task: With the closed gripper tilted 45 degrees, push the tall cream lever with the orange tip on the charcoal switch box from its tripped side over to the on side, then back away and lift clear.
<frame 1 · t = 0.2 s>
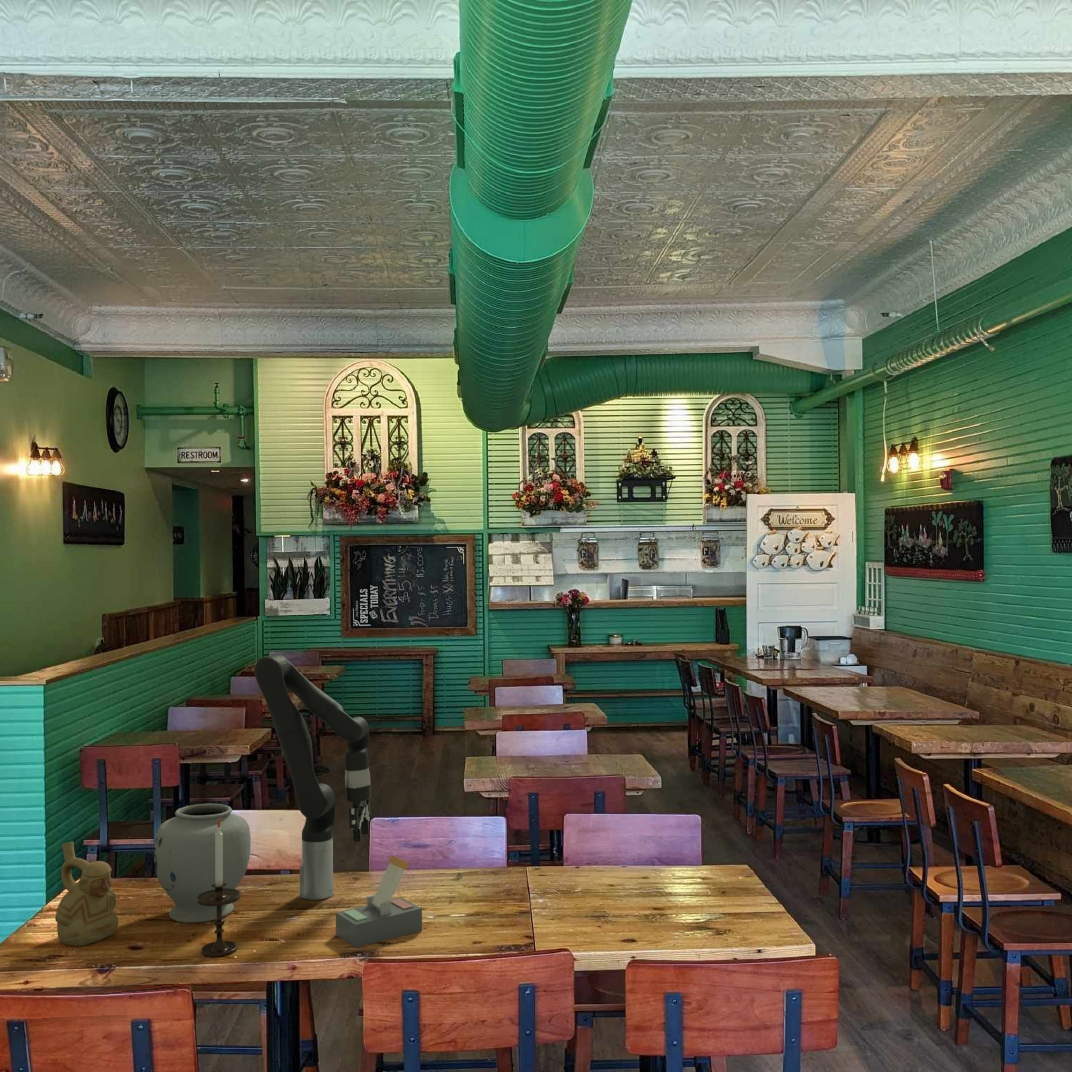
hand: (361, 837, 303), 18 cm above the table, fingers open, 8 cm apart
candlestick: (219, 951, 262), on the table
switch box: (379, 932, 273), on the table
ceramic vessel: (85, 938, 272), on the table
ceramic vase: (203, 913, 291), on the table
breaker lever: (389, 883, 275), point 13 cm above the table, hinge at 30.0°
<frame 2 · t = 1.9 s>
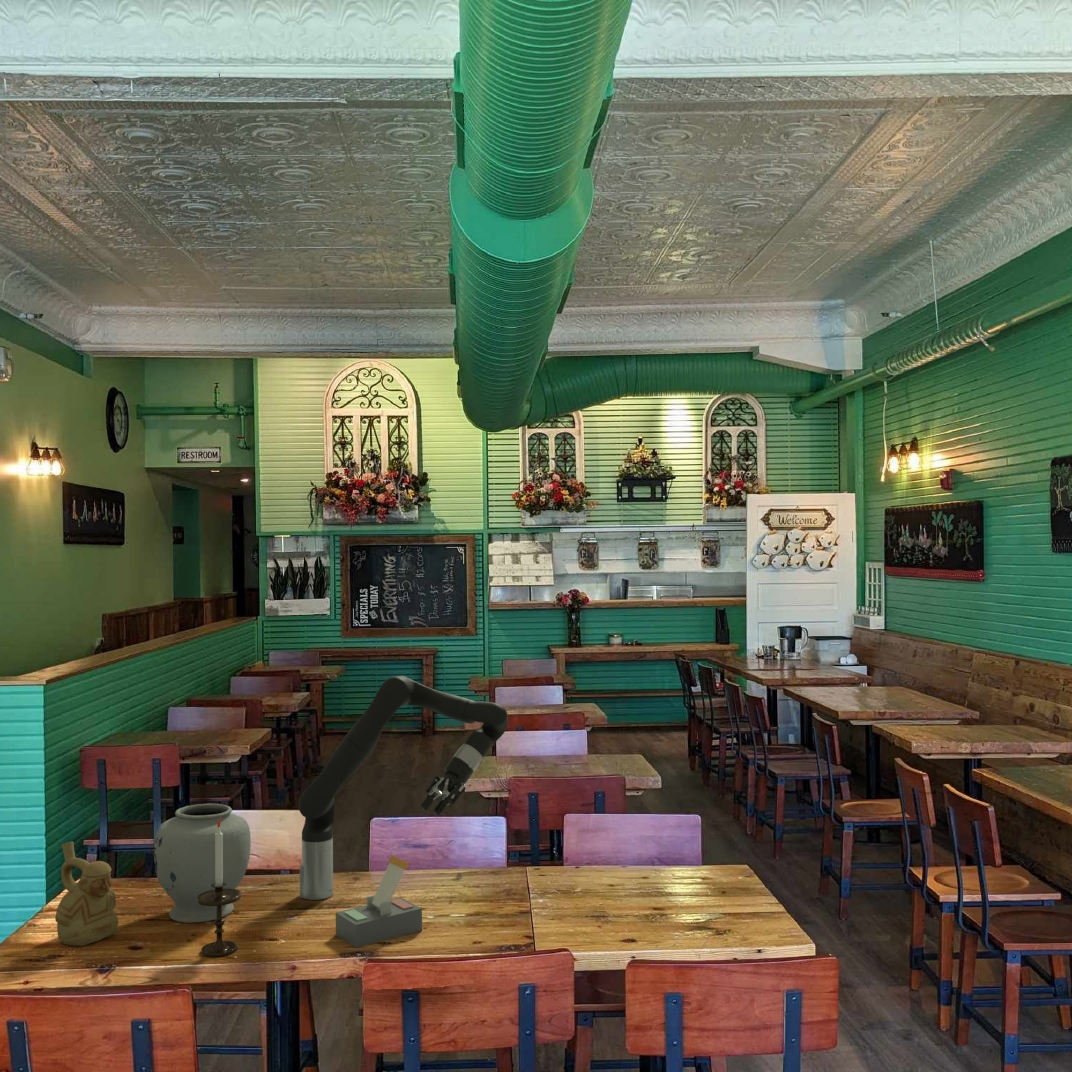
hand: (429, 810, 284), 30 cm above the table, fingers open, 6 cm apart
nothing on the table moved.
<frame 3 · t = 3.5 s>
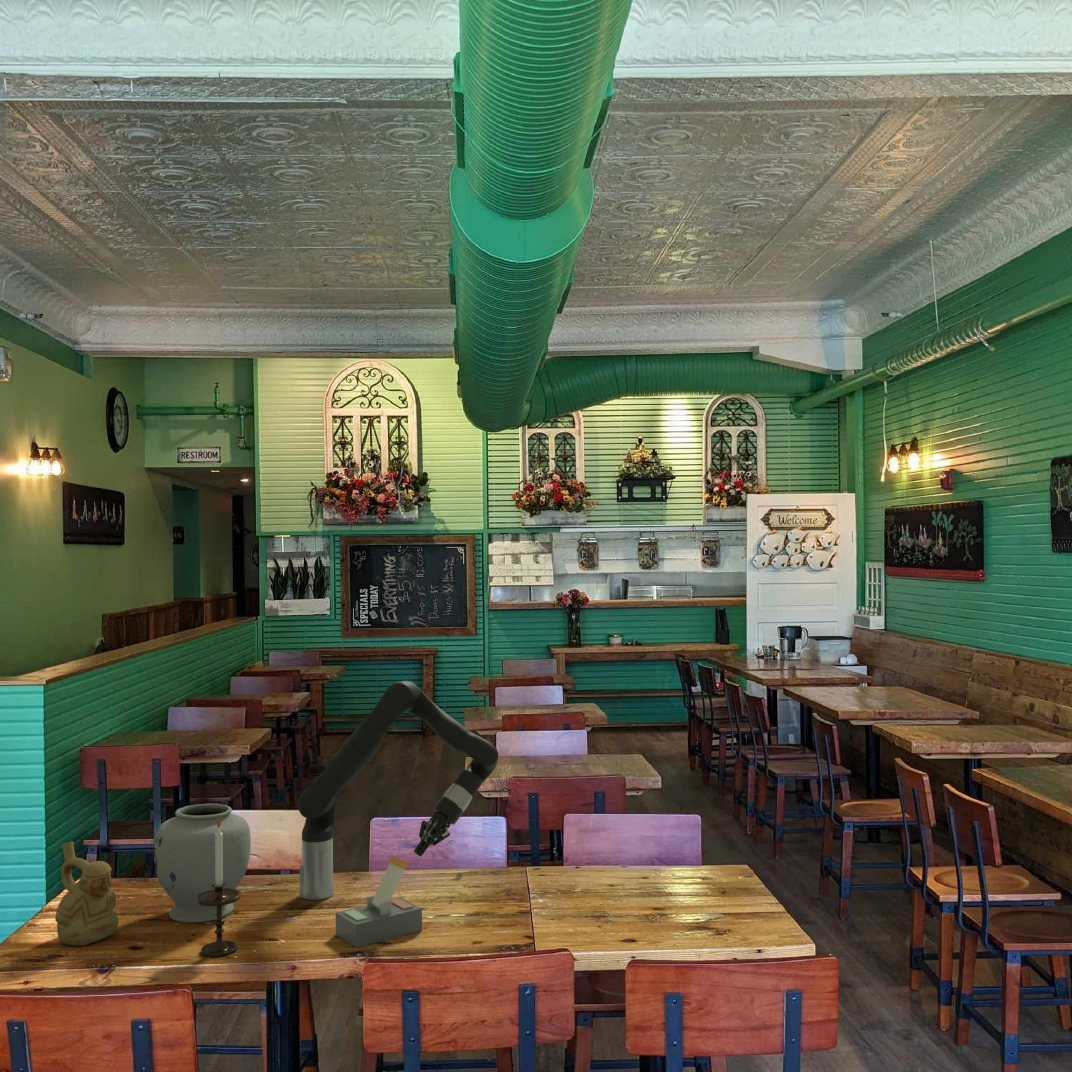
hand: (417, 854, 281), 19 cm above the table, fingers closed
nothing on the table moved.
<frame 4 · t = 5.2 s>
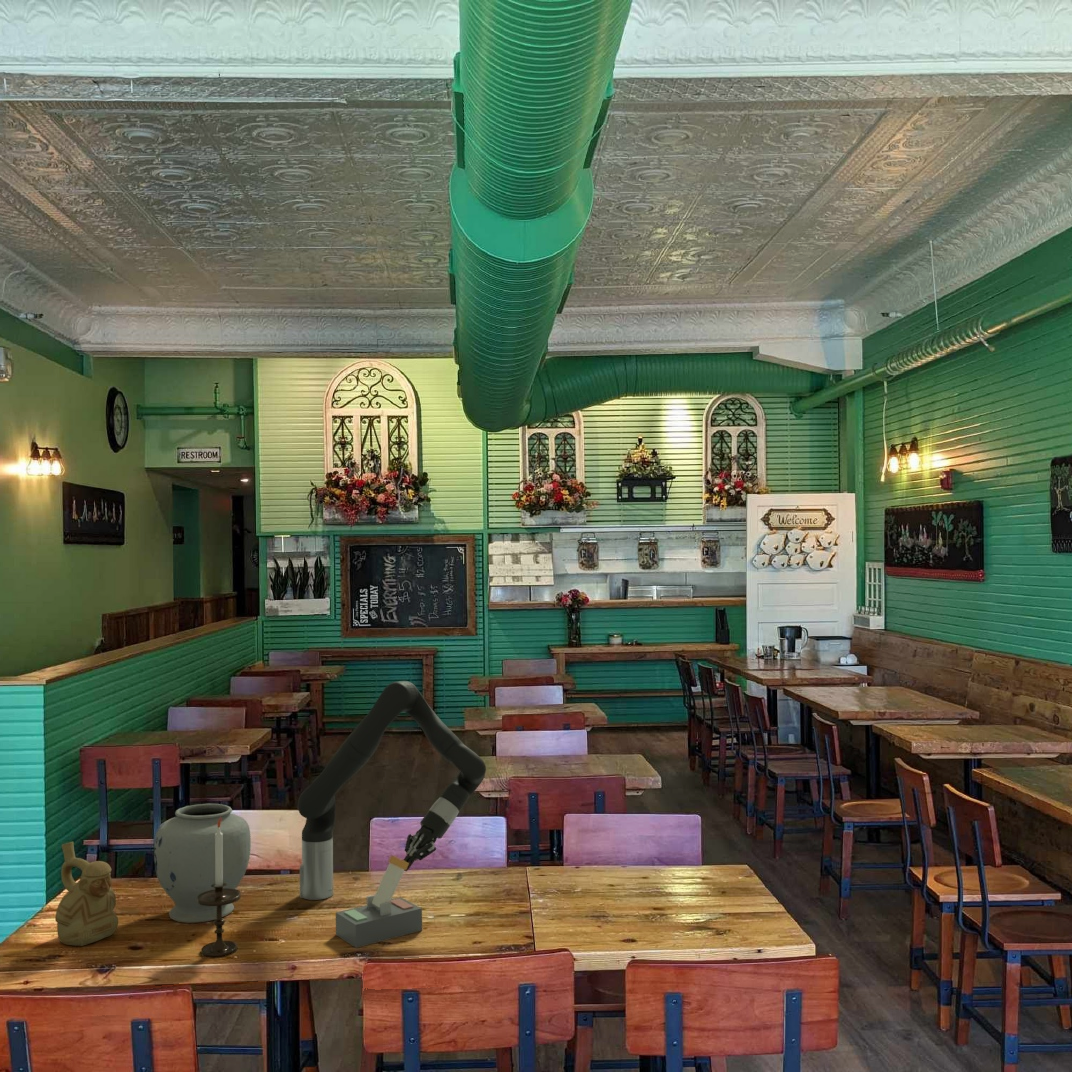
hand: (402, 869, 278), 16 cm above the table, fingers closed
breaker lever: (389, 883, 275), point 13 cm above the table, hinge at 30.0°, touching gripper
everything else where it was.
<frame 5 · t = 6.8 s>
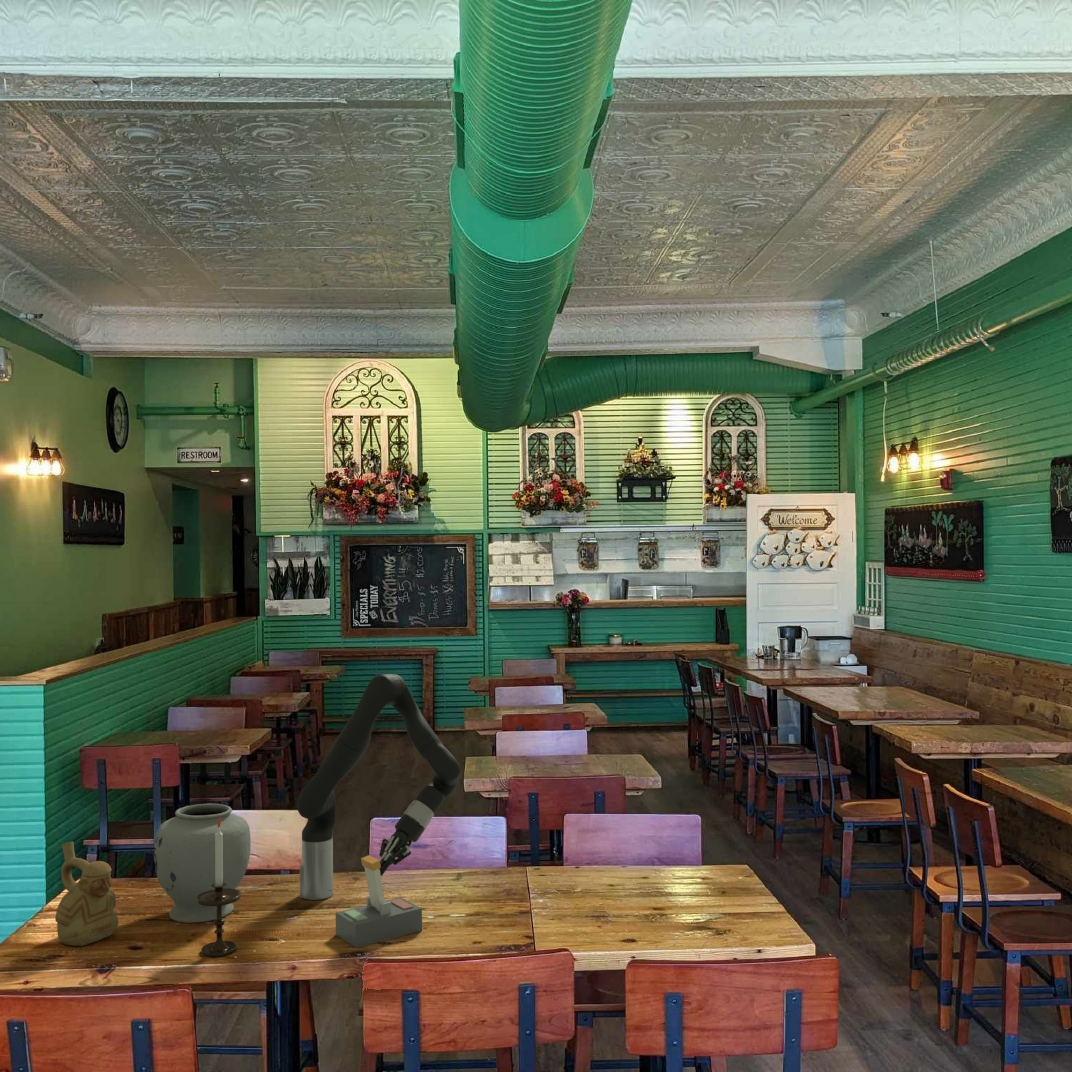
hand: (377, 874, 273), 16 cm above the table, fingers closed
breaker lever: (374, 884, 273), point 13 cm above the table, hinge at -10.7°, touching gripper
everything else where it was.
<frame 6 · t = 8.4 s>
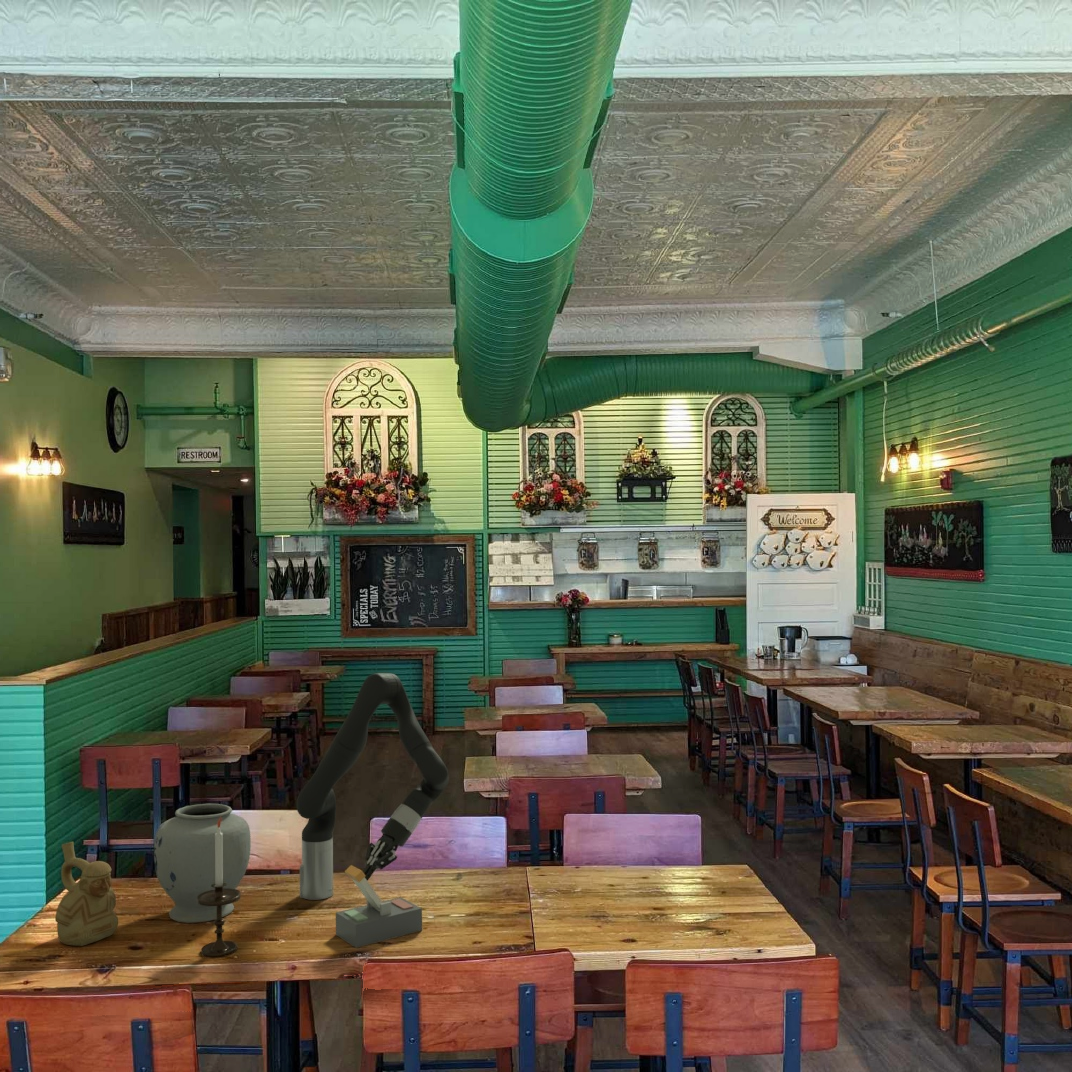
hand: (363, 878, 271), 16 cm above the table, fingers closed
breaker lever: (366, 889, 271), point 12 cm above the table, hinge at -34.4°, touching gripper
everything else where it was.
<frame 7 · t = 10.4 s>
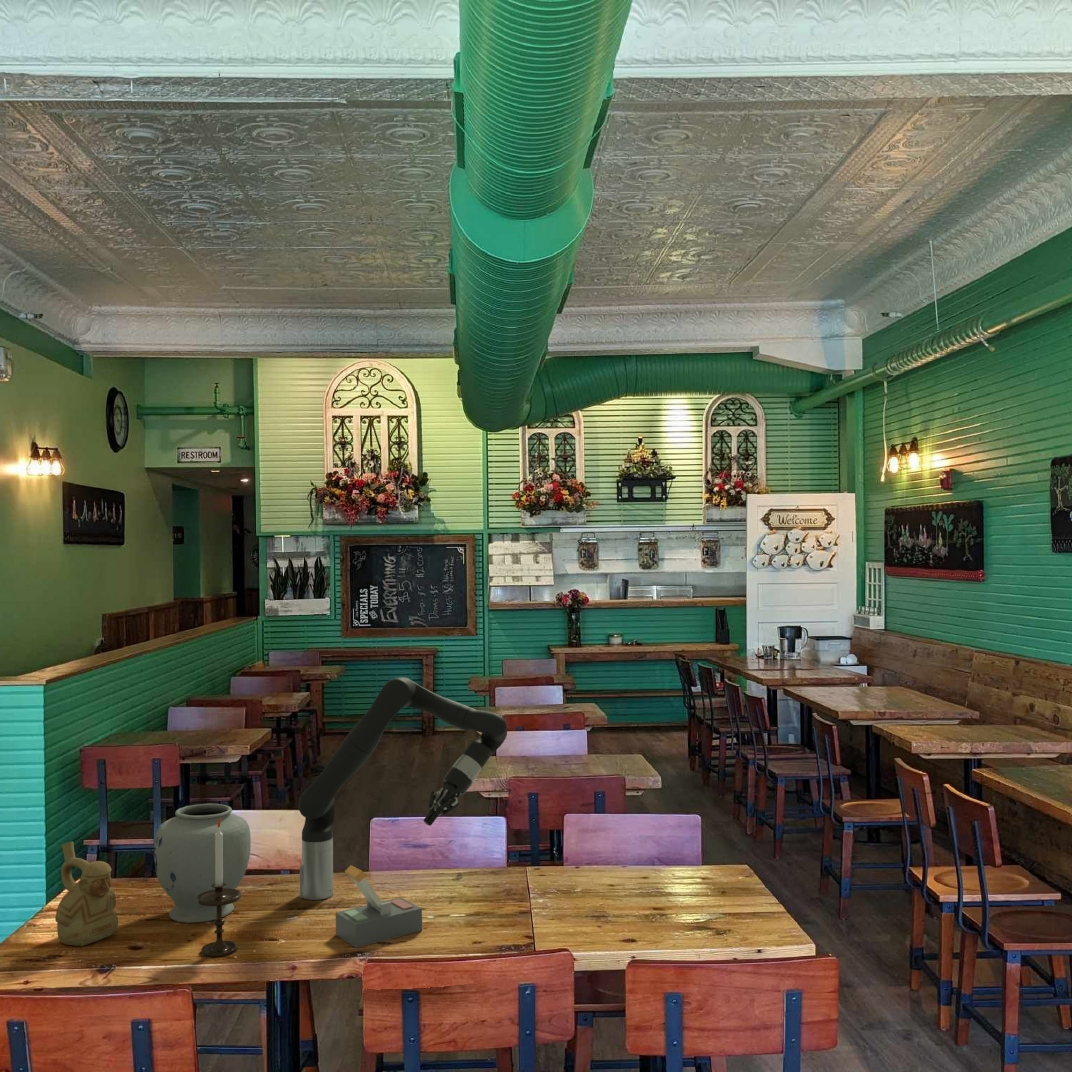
hand: (426, 823, 283), 27 cm above the table, fingers closed
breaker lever: (366, 889, 271), point 12 cm above the table, hinge at -34.5°
everything else where it was.
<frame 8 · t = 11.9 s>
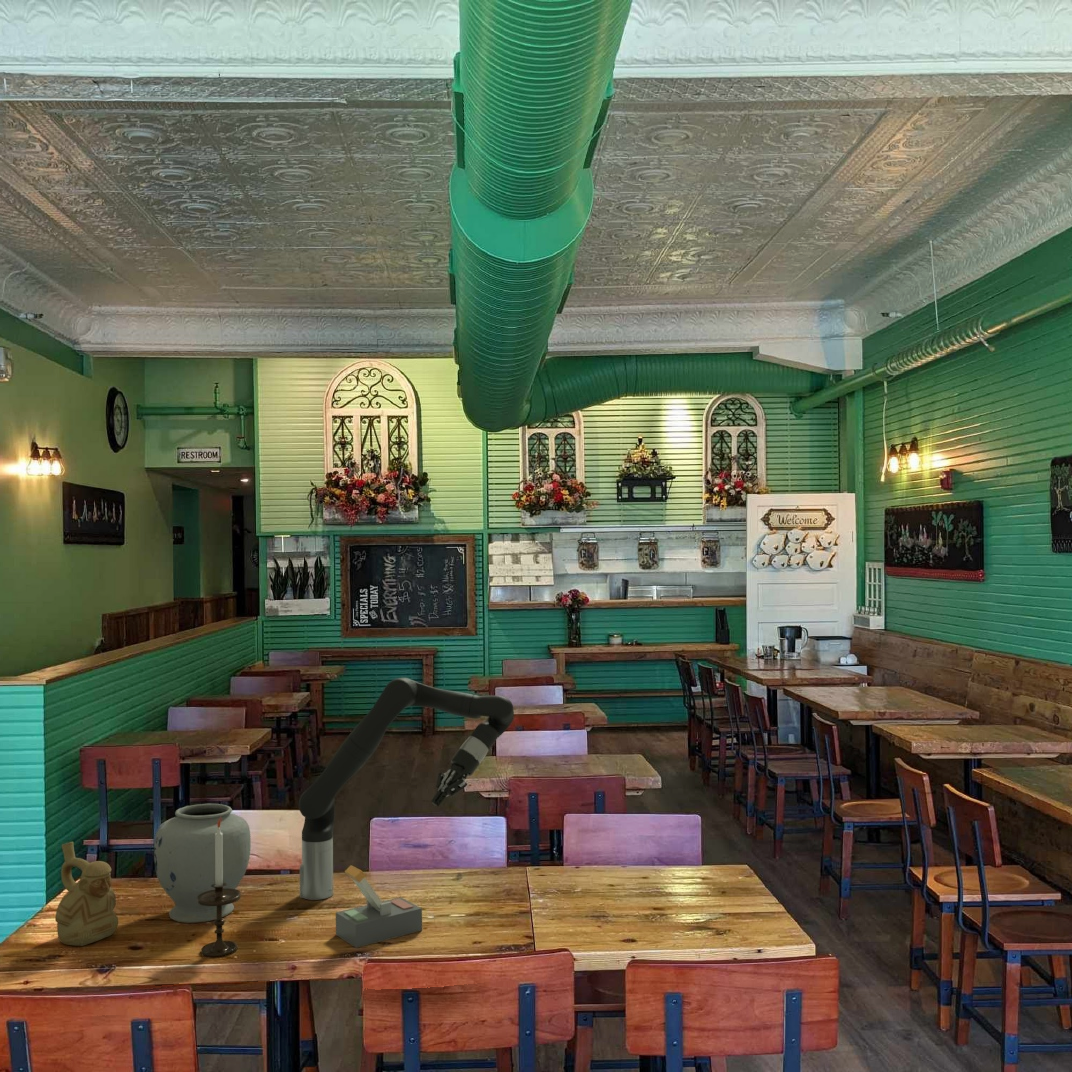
hand: (434, 804, 286), 32 cm above the table, fingers closed
nothing on the table moved.
at the end: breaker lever at -34° (first picture: +30°) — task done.
